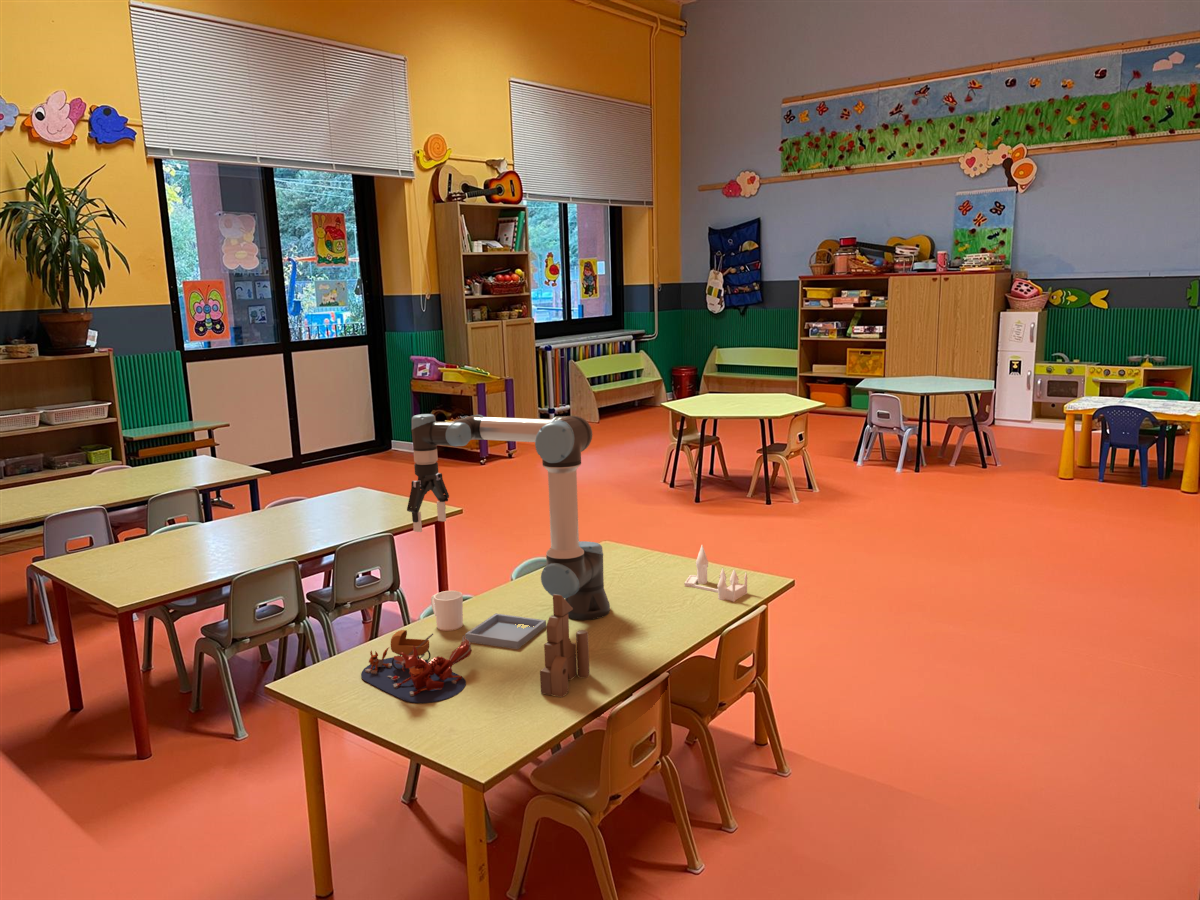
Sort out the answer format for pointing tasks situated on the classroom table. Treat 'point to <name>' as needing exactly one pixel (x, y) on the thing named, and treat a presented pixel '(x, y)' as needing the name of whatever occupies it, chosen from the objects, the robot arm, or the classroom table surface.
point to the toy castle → (723, 593)
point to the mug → (448, 610)
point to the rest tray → (505, 631)
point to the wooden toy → (562, 652)
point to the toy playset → (416, 671)
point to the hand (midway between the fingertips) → (430, 526)
